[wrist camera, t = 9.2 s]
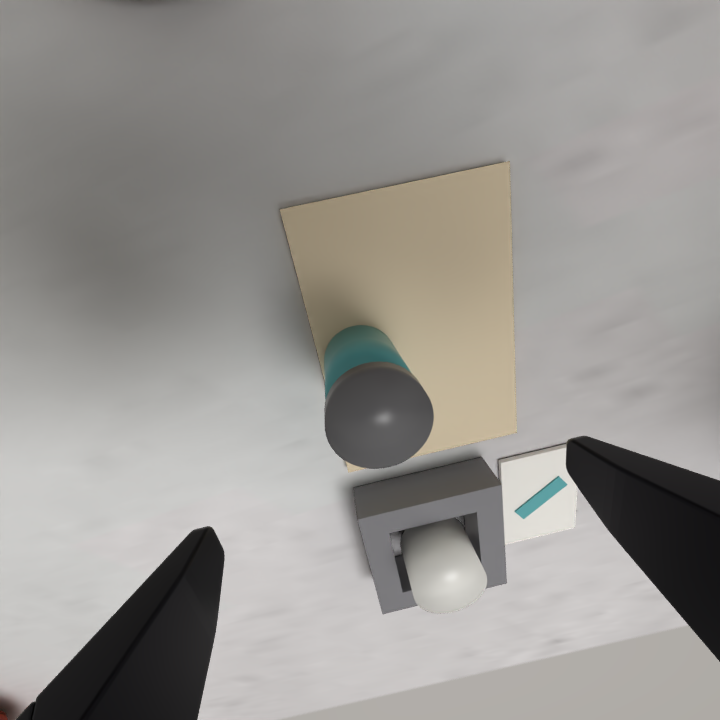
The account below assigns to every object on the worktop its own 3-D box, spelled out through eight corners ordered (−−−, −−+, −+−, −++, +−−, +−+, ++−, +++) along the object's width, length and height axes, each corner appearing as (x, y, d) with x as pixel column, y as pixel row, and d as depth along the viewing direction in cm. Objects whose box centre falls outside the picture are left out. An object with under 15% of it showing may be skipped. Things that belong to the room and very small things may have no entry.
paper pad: (505, 162, 15) (509, 161, 14) (513, 429, 20) (516, 432, 20) (280, 209, 15) (279, 209, 14) (348, 468, 20) (348, 472, 19)
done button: (462, 507, 20) (485, 551, 17) (467, 554, 21) (489, 603, 19) (395, 523, 20) (408, 571, 17) (405, 569, 21) (418, 620, 18)
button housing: (481, 457, 21) (501, 484, 18) (488, 549, 23) (506, 583, 21) (353, 487, 20) (357, 519, 18) (376, 577, 23) (382, 614, 21)
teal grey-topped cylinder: (390, 316, 16) (426, 361, 11) (401, 384, 18) (439, 454, 12) (314, 333, 16) (312, 387, 11) (332, 400, 18) (338, 479, 12)
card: (576, 441, 21) (581, 445, 20) (571, 524, 23) (575, 528, 23) (498, 460, 21) (501, 464, 20) (502, 541, 23) (505, 546, 23)
